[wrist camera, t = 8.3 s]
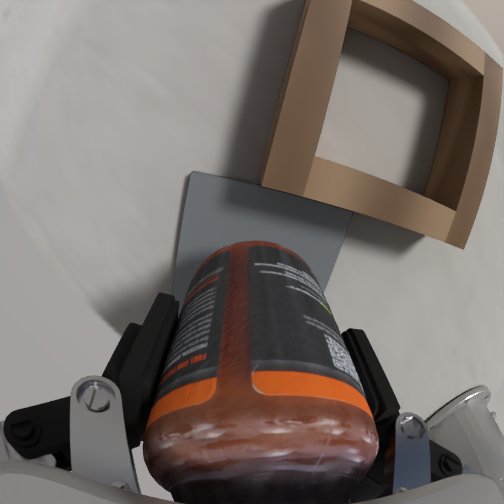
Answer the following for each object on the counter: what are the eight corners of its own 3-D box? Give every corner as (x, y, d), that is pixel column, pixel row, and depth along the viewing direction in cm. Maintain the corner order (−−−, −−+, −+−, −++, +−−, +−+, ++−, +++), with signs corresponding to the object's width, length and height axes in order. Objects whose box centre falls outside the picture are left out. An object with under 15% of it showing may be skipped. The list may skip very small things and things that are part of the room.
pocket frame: (469, 72, 11) (502, 68, 8) (433, 229, 16) (463, 249, 13) (308, -10, 10) (321, -39, 7) (258, 175, 15) (261, 186, 11)
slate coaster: (349, 209, 15) (353, 212, 15) (302, 333, 19) (303, 339, 18) (193, 170, 15) (191, 172, 14) (172, 308, 18) (170, 313, 17)
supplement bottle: (183, 330, 14) (130, 550, 3) (202, 220, 12) (74, 532, 1) (294, 351, 15) (326, 561, 4) (336, 253, 12) (471, 507, 2)
